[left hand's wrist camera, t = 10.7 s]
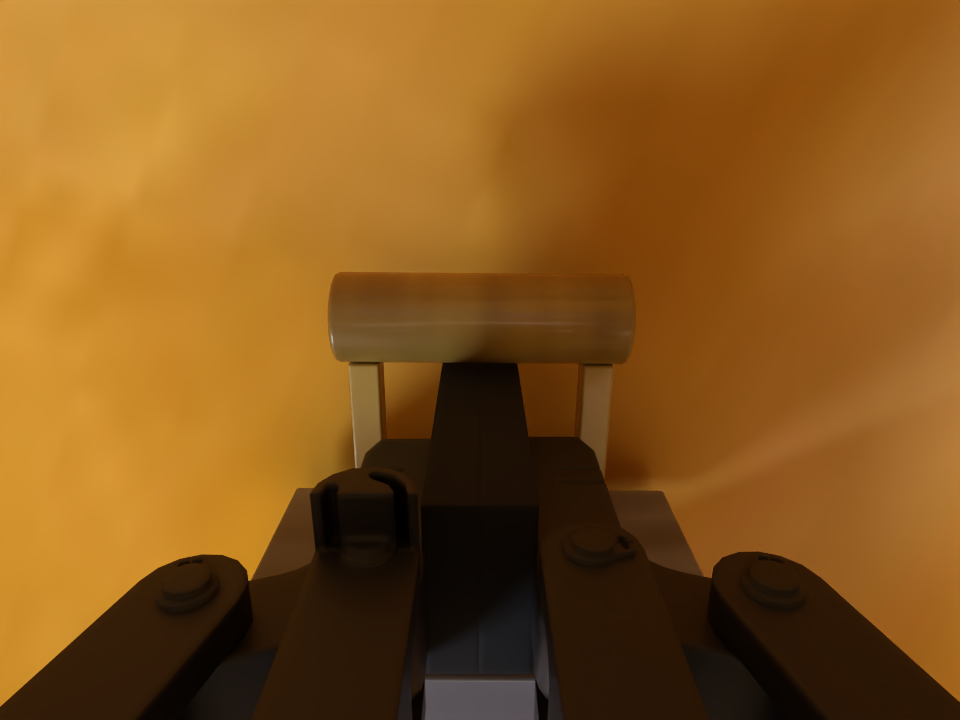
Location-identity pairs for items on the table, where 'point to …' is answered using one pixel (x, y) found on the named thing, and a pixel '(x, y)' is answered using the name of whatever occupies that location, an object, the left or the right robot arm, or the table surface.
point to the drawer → (483, 339)
